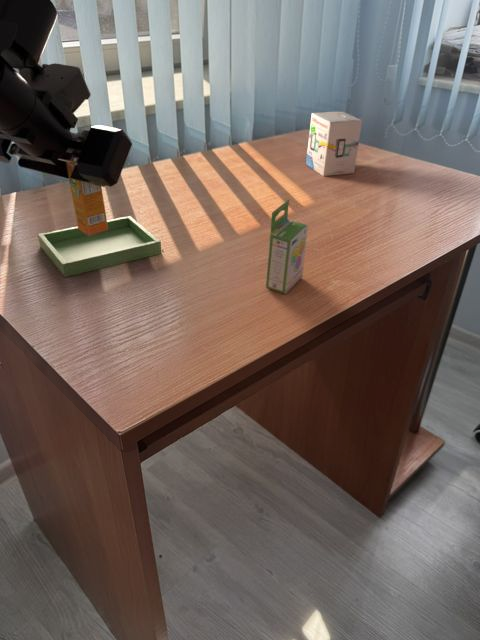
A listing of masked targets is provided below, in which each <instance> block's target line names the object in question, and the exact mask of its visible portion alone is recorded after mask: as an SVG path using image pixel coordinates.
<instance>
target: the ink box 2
mask: <svg viewBox="0 0 480 640" xmlns="http://www.w3.org/2000/svg"><path fill="white" fill-rule="evenodd" d="M362 125H363V120H362V119H360V118H358V117H356V116H354V115H352V114H349V113H347V112H345V111H342V110H341V111H326V112H311V115H310V126H309V134H308V141H307V142H308V143H307V151H306V161H305V165H306V166H308V167H309V168H311V169H312V170H313V171H314V172H316V173H318V174H319V175H321V176H322V177H328V176H339V175H347V174H348V175H349V174H354V173H355V168H356V163H357V156H358V151H359V143H360V137H361V133H362V132H361V131H362Z"/></svg>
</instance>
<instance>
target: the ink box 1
mask: <svg viewBox="0 0 480 640" xmlns="http://www.w3.org/2000/svg"><path fill="white" fill-rule="evenodd" d="M289 205H290V199H287V200H286V201H285V202H284V203H282V204H281V205H280V206H278V207H277V208H276V209H274V210H273V211H272V212H271V219H270V233H269V238H268V239H269V242H268V243H269V246H268V255H267V268H266V278H265V279H266V280H265V288H266V289H269V290H272V291H274V292H278V293H280V294H283V295H286V294H288V292H289V291H291V289H292V288H293V287H295V285H296V284H297V283H298V282H299V281H300V280H301V279H302V278H303V273H304V265H305V255H306V247H307V238H308V231H309V230H308V229H309V226H308V224H306V223H305V224H304V223H302V222H298V221H294V220H291V219H288V217H289V216H288V215H289V207H290V206H289ZM282 211H284V213H283V214H282V215H281V216H280V217H279V218H277V217H278V215H279V214H280V213H281V212H282ZM276 218H277V219H276Z"/></svg>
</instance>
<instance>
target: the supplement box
mask: <svg viewBox="0 0 480 640" xmlns="http://www.w3.org/2000/svg"><path fill="white" fill-rule="evenodd" d="M74 161H76V160H73V162H66V165H67V171H68V176H69V179H68V182H69V187H70V193H71V198H72V204H73V209H74V214H75V219H76V220H75V221H76V224H77V226H78V229H79V230H81V231H82V232H84V233H85V234H87V235H88V236H90V235H94V234H98V233H101V232H104V231H107V230H108V225H107V220H108V219H107V212H106V206H105V200H104V194H103V187H102V186H98V185H94V184H90V183H86V182H82V181H78V180H74V179H71V178H70V176H71V174H72V171H73V169H74V166H75V164H74ZM77 226H76V227H77Z"/></svg>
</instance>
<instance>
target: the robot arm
mask: <svg viewBox="0 0 480 640" xmlns="http://www.w3.org/2000/svg"><path fill="white" fill-rule="evenodd" d="M57 19H58V10H57V8H56V6H55V4H54V2H53V1H52V0H0V162H1V163H6V164H10V163H11V161H12V157H17V158H18V161H17V165H18V167H20V168H22V169H26V170H31V171H35V172H39V173H43V174H47V175H51V176H55V177H60V178H63V179H68V180H69V176H68V171H67V165H66V162H73V160H76V161H74V164H75V166H74V169H73V171H72V174H71V176H70V178H71V179H74V180H78V181H82V182H86V183H90V184H94V185H98V186H101V187H102V188H105V187H106V186H107V187H110V188H112V187H114V186H115V185H116V184H118V182H119V180H120V177H121V175H122V172H123V169H124V166H125V164H126V162H127V160H128V159H127V158H128V156H129V154H130V152H131V149H132V146H133V142H132V140H131V138H130V137H129V135H127V133H126V132H125V131H124V129H121V128H118V127H117V128H116V127H112V126H106V125H101V124H96V125H93V126H90V128H89V129H85V128H82V129H80V130H78V131H77V132H72V131H71V129H75V128H76V126H77V123H78V120H79V118H78V117H77V116H76V115H75V114H74V113H75V112H76V111H77V110H78V109H79V108H80V107H81V106H82V104H83V103H84V102H85V101H87V100H89V99H90V98H91V95H92V93H91V91H90V89H89V87H88V84H87V81H86V80H85V76H84V75H83V72H82V70H81V68H80V67H79V66H75V65H68V64H62V63H56V62H55V63H49V64H47V63H42V64H41V65H40V64H39V62H40V60H41V57H42V55H43V53H44V50H45V49H46V45H47V44H48V41H49V38H50V36H51V35H52V31H53V29H54V27H55V24H56V22H57ZM17 70H18V71H17ZM11 143H12V144H11Z"/></svg>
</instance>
